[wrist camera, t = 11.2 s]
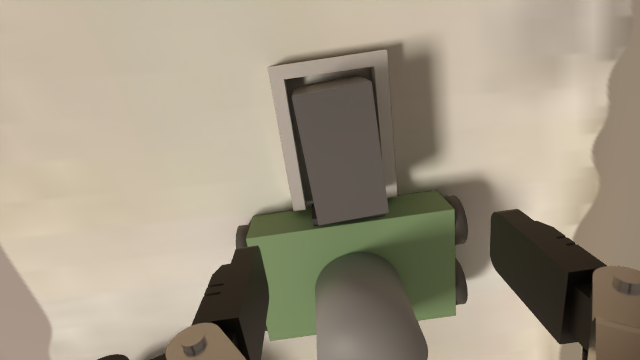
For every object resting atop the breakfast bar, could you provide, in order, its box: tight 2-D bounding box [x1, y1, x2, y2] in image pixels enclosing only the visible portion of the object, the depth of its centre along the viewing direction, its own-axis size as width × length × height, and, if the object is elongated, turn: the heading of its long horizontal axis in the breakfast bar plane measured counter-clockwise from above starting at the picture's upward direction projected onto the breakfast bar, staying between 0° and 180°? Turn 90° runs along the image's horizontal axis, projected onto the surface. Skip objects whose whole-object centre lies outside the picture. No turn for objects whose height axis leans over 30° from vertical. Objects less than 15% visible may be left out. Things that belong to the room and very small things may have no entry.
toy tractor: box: [236, 49, 468, 360], centre depth 25 cm, size 22×18×11 cm
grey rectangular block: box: [292, 76, 389, 226], centre depth 26 cm, size 9×5×6 cm, turn 10°
